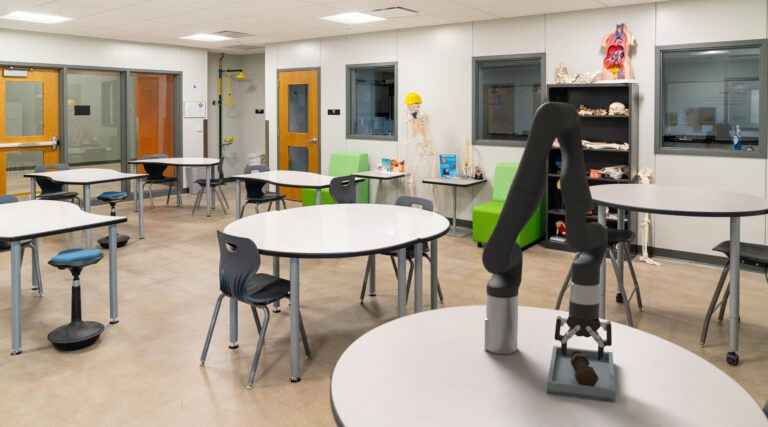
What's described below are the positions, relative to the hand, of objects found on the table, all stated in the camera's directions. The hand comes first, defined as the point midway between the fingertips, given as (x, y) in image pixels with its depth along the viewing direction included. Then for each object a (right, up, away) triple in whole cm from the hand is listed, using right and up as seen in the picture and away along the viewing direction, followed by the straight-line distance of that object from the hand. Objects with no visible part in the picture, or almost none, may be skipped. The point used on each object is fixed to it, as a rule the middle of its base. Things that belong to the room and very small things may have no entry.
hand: (582, 357), depth 158 cm
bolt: (0, -5, 0) cm, 5 cm away
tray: (0, -6, +1) cm, 6 cm away
